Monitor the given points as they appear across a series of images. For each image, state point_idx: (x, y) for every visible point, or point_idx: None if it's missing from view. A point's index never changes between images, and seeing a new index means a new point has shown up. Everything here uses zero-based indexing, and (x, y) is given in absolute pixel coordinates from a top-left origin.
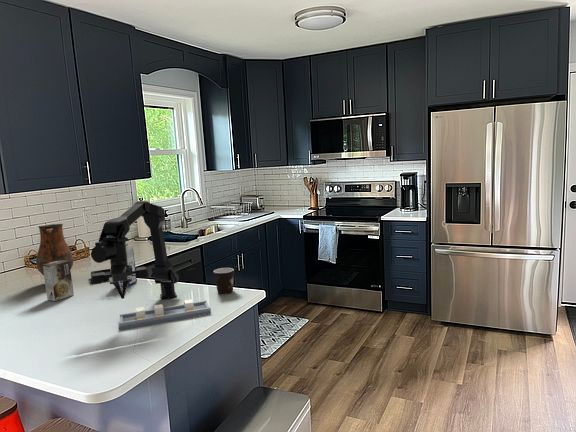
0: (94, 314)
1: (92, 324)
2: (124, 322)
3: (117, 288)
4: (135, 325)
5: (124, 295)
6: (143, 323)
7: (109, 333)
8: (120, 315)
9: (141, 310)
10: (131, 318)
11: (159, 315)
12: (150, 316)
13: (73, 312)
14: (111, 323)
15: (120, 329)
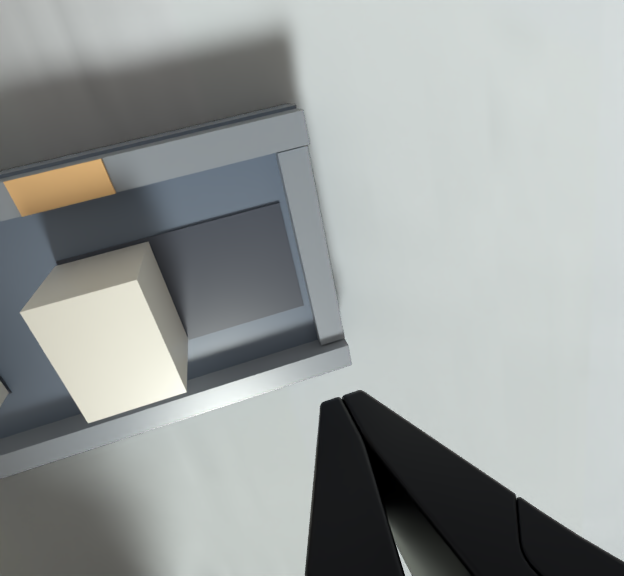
0: (516, 449)
1: (521, 289)
2: (246, 127)
3: (594, 572)
4: (132, 141)
5: (320, 444)
6: (42, 164)
7: (369, 20)
8: (340, 346)
9: (69, 313)
10: (226, 302)
11: None
12: (28, 329)
13: (614, 478)
14: (392, 283)
15: (281, 105)
